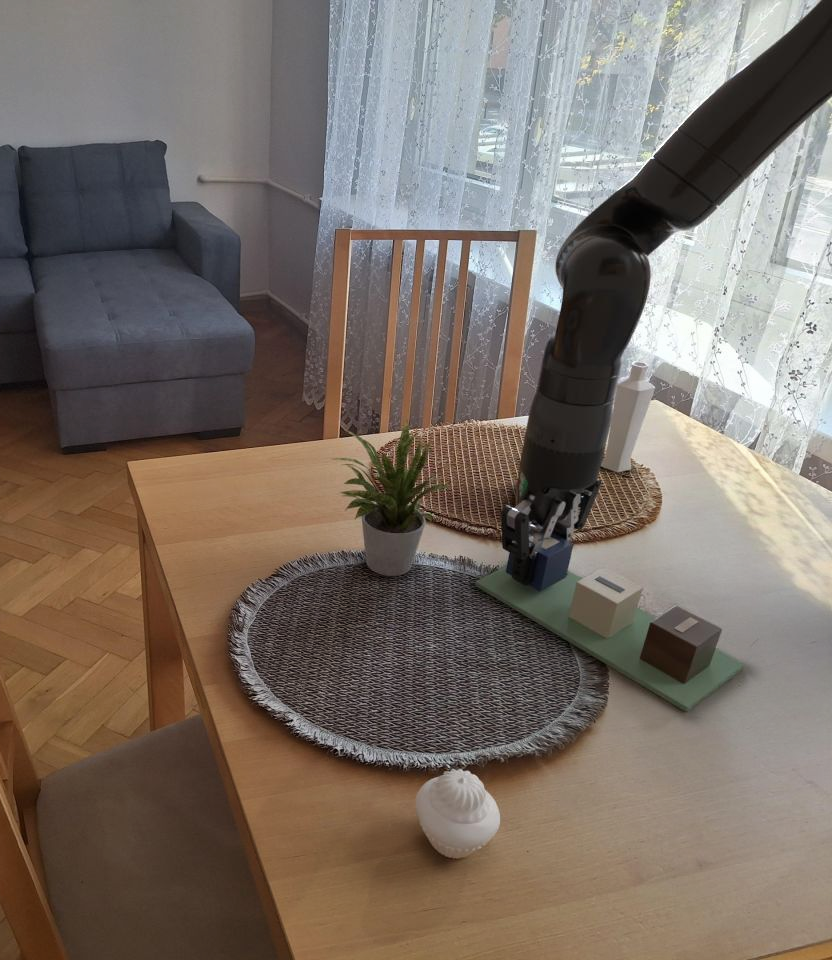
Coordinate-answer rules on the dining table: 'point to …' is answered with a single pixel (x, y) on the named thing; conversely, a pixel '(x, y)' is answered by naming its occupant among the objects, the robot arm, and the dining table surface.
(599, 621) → the cream block
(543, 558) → the navy block
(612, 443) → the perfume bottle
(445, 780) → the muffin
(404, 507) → the house plant
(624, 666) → the green board
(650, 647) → the walnut block
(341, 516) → the dining table surface
